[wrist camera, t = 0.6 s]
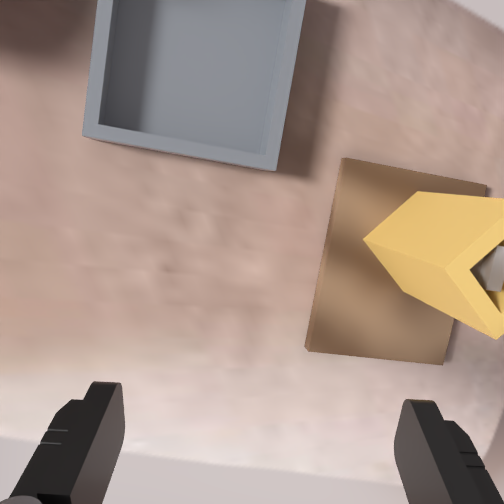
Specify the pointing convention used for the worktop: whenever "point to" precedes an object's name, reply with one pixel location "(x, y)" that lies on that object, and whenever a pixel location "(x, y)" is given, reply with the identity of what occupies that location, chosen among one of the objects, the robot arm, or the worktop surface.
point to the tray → (194, 77)
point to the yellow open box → (444, 254)
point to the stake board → (381, 272)
